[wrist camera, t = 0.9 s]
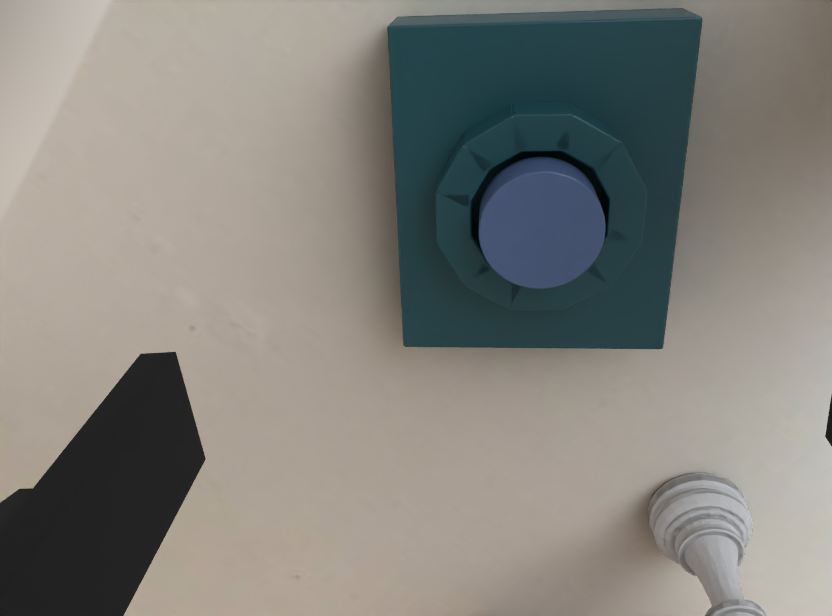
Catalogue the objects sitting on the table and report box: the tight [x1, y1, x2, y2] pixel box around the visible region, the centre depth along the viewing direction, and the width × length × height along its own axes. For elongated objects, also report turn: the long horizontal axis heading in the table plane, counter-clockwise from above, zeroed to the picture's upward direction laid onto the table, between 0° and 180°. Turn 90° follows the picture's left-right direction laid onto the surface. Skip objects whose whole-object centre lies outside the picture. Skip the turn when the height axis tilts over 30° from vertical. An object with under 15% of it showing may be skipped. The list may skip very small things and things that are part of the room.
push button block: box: [387, 8, 702, 349], centre depth 28 cm, size 12×10×4 cm
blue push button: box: [479, 157, 605, 289], centre depth 25 cm, size 4×4×2 cm
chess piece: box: [648, 473, 766, 616], centre depth 32 cm, size 4×4×10 cm
